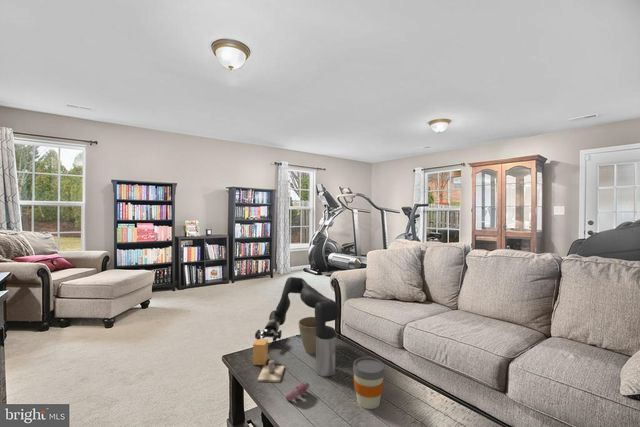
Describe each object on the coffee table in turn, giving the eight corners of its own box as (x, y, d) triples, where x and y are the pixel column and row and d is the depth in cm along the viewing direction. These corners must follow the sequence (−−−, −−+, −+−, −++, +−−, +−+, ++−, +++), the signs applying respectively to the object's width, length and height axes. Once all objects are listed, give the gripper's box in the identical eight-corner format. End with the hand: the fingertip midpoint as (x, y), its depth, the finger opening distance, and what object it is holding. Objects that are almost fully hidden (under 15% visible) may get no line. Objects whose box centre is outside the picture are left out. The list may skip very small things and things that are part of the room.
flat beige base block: (284, 367, 146) (284, 355, 146) (279, 382, 134) (279, 368, 134) (264, 367, 146) (264, 354, 146) (257, 381, 134) (257, 368, 134)
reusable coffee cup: (351, 391, 127) (351, 356, 127) (381, 392, 127) (381, 357, 127) (354, 411, 115) (354, 372, 115) (387, 412, 114) (387, 373, 114)
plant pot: (297, 345, 170) (297, 317, 170) (323, 344, 171) (324, 316, 171) (298, 358, 155) (299, 327, 155) (327, 357, 157) (327, 326, 156)
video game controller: (291, 407, 119) (297, 395, 117) (284, 398, 122) (289, 386, 120) (307, 395, 127) (313, 383, 125) (299, 387, 130) (305, 375, 128)
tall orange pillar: (267, 358, 154) (267, 339, 154) (265, 365, 148) (265, 344, 148) (256, 358, 155) (256, 339, 155) (253, 364, 149) (253, 344, 149)
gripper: (260, 321, 179) (252, 332, 163) (283, 322, 178) (278, 333, 162) (260, 333, 179) (252, 346, 163) (283, 334, 178) (278, 347, 162)
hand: (265, 340), depth 163 cm, fingers open, 8 cm apart
